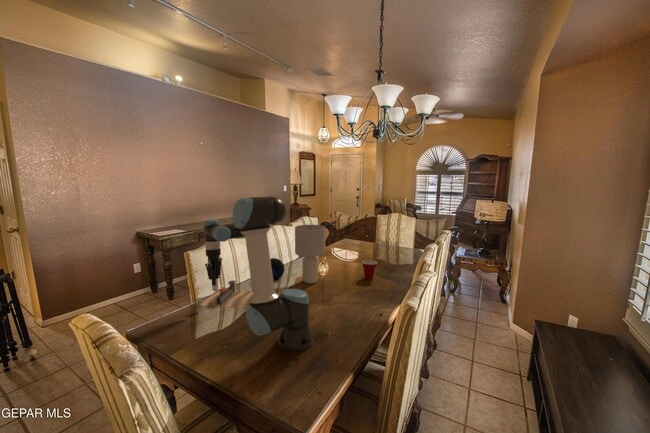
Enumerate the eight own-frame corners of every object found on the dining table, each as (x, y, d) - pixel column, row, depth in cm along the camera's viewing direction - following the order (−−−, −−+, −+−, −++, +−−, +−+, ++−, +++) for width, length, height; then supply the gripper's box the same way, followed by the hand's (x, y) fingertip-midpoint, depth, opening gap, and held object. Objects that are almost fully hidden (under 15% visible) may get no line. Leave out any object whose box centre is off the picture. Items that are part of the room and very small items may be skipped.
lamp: (330, 283, 192) (331, 226, 186) (304, 289, 180) (304, 230, 175) (314, 274, 208) (314, 222, 203) (290, 279, 197) (289, 225, 191)
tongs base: (231, 291, 174) (231, 282, 173) (235, 291, 174) (235, 283, 173) (214, 304, 156) (214, 295, 155) (219, 305, 155) (218, 295, 155)
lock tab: (222, 291, 164) (222, 287, 163) (225, 291, 163) (224, 287, 163) (219, 293, 161) (219, 289, 160) (222, 293, 160) (222, 289, 160)
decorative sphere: (269, 285, 187) (269, 263, 185) (258, 278, 198) (258, 258, 196) (288, 279, 197) (288, 259, 195) (277, 274, 208) (276, 254, 206)
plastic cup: (376, 275, 206) (377, 260, 205) (376, 281, 196) (376, 264, 194) (362, 274, 209) (362, 258, 207) (360, 279, 199) (360, 263, 197)
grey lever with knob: (230, 290, 175) (230, 280, 174) (238, 290, 175) (237, 280, 174) (214, 304, 156) (214, 293, 155) (222, 304, 155) (222, 293, 154)
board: (258, 293, 174) (258, 291, 174) (245, 309, 153) (245, 307, 153) (218, 291, 177) (217, 289, 177) (199, 307, 155) (199, 305, 155)
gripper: (213, 245, 158) (215, 285, 161) (199, 251, 145) (202, 294, 148) (225, 245, 157) (228, 286, 160) (212, 251, 144) (215, 295, 147)
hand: (215, 290), depth 154 cm, fingers closed
